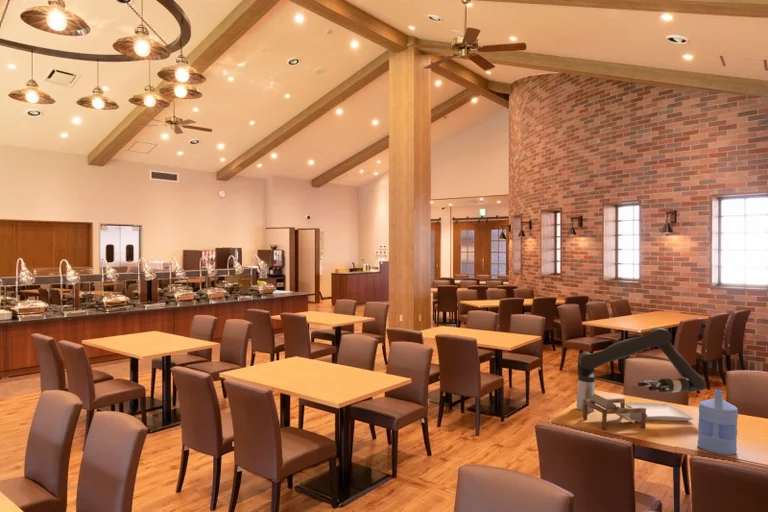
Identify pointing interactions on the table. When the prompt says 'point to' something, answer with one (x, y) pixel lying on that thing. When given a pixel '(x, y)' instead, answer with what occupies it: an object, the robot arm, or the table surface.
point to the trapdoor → (608, 405)
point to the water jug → (717, 426)
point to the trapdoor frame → (613, 410)
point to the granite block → (634, 416)
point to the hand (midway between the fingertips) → (643, 386)
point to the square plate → (661, 411)
